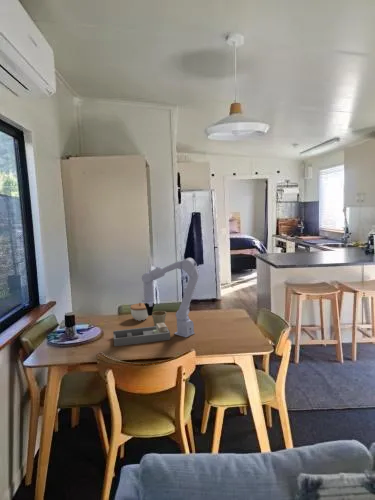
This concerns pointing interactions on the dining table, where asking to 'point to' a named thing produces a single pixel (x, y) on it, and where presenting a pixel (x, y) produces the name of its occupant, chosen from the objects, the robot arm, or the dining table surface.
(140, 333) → the channel
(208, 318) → the dining table surface
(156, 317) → the flower pot
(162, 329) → the cream block
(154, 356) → the dining table surface
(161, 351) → the dining table surface
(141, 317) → the lidded bowl
